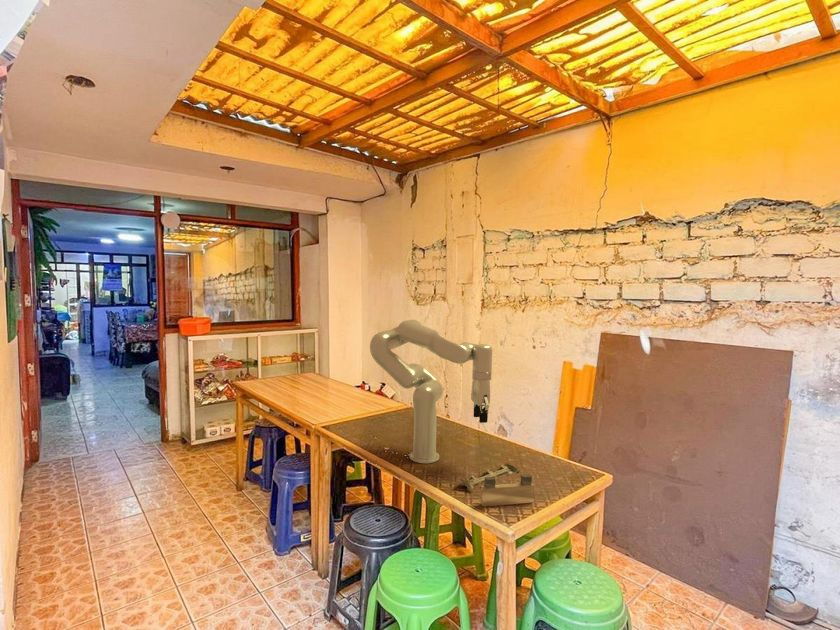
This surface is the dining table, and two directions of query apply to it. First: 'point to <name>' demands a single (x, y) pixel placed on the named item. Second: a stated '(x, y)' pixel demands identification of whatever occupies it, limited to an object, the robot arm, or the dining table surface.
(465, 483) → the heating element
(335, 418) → the dining table surface
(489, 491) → the notched board
